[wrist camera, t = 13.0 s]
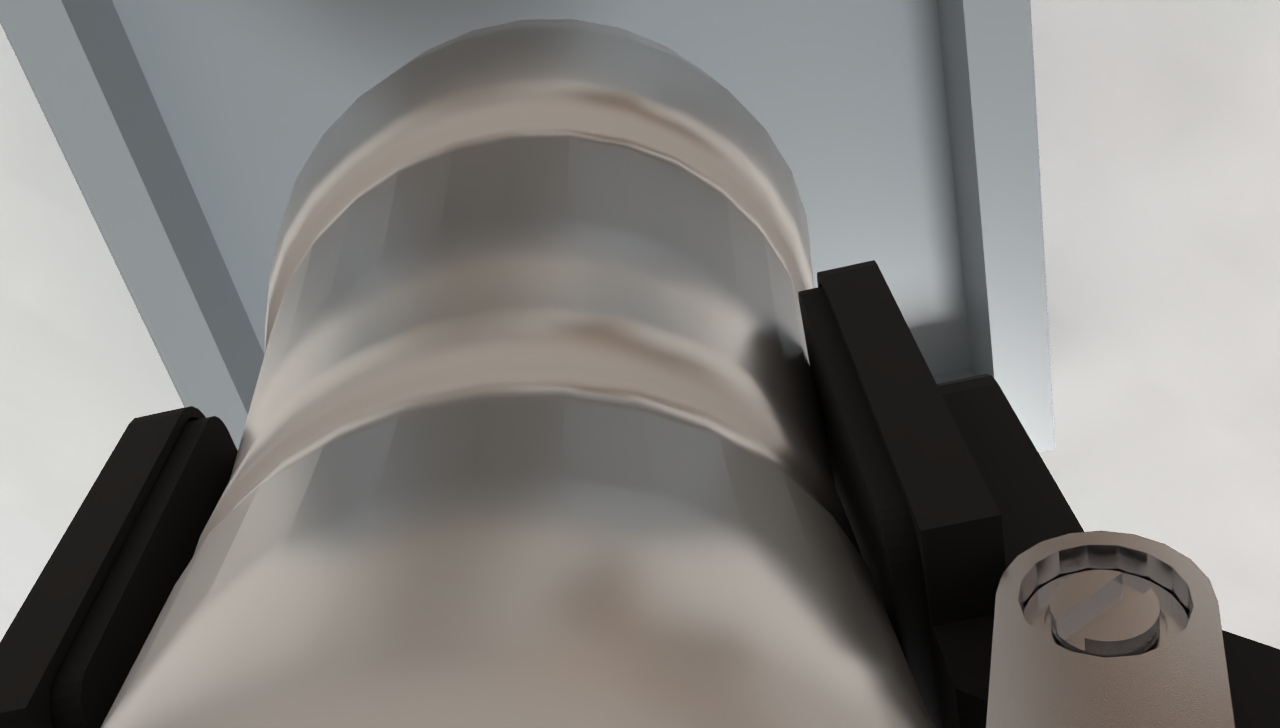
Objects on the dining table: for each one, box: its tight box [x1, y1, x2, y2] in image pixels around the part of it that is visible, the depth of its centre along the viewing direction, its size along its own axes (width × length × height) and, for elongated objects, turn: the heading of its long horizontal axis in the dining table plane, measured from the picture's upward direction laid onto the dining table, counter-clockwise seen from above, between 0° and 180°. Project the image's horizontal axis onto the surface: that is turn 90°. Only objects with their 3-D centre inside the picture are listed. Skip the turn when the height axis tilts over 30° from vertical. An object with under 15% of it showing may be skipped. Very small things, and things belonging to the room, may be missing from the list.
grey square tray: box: [0, 0, 1055, 452], centre depth 20 cm, size 15×15×2 cm
